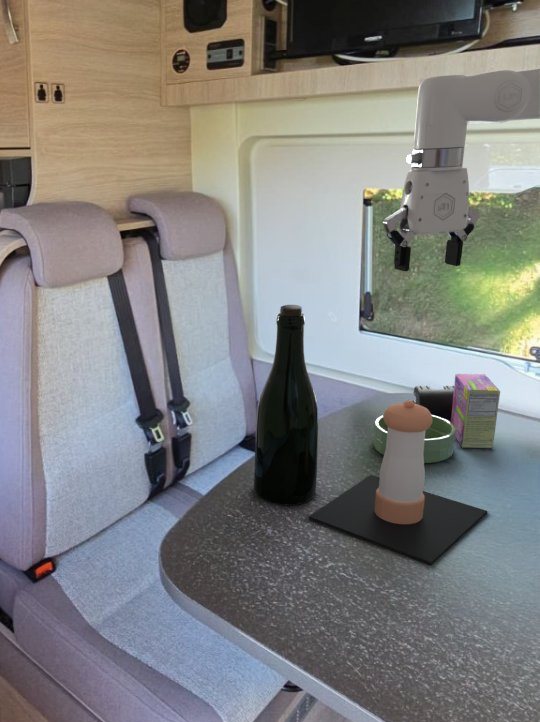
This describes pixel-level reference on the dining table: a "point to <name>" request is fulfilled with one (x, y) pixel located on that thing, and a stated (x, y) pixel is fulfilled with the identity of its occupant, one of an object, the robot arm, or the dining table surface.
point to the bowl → (436, 439)
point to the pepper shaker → (403, 464)
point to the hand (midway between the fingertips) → (427, 267)
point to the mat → (413, 540)
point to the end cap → (435, 400)
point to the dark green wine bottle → (287, 420)
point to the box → (475, 410)
